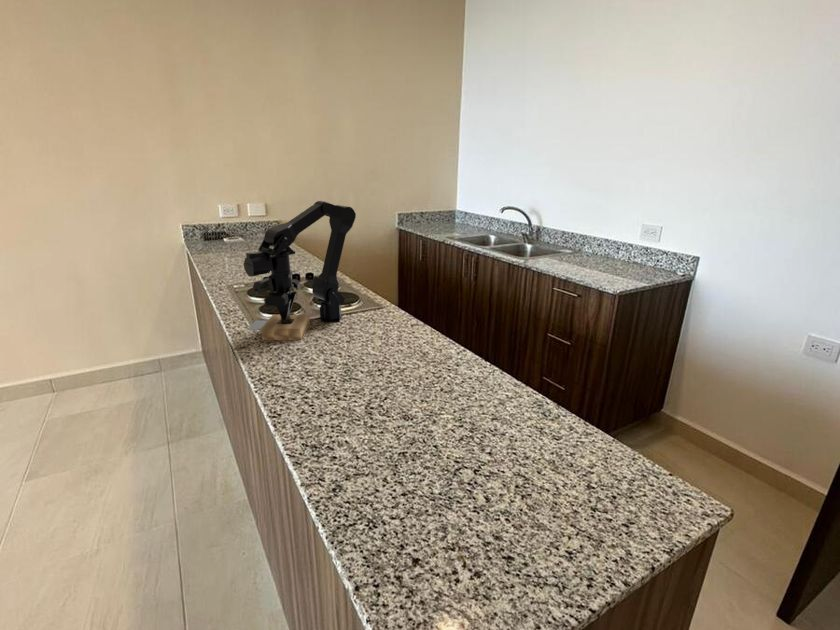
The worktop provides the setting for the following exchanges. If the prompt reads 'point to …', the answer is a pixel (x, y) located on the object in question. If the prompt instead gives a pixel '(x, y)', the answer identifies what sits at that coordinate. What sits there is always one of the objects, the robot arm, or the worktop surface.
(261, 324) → the mat
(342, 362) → the worktop surface
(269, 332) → the socket block
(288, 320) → the pin
